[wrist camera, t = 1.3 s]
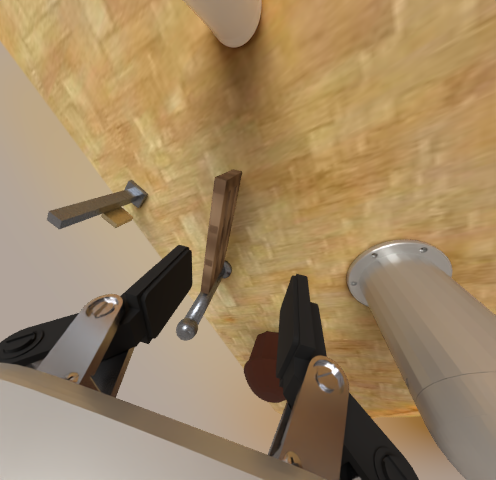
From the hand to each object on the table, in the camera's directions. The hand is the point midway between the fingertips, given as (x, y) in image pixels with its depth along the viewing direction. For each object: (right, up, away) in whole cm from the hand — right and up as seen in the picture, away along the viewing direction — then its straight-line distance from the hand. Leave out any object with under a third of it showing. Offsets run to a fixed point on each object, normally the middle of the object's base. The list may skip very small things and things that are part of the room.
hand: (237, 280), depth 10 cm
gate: (-2, +5, +17) cm, 18 cm away
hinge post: (-4, -3, +23) cm, 24 cm away
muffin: (+7, -22, +31) cm, 38 cm away
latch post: (-18, +10, +19) cm, 28 cm away
